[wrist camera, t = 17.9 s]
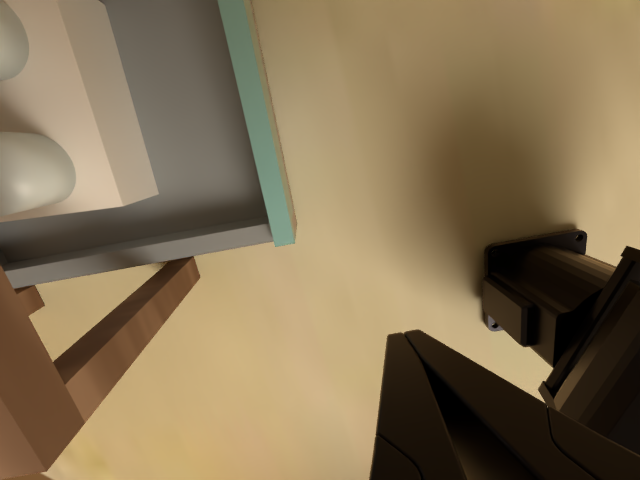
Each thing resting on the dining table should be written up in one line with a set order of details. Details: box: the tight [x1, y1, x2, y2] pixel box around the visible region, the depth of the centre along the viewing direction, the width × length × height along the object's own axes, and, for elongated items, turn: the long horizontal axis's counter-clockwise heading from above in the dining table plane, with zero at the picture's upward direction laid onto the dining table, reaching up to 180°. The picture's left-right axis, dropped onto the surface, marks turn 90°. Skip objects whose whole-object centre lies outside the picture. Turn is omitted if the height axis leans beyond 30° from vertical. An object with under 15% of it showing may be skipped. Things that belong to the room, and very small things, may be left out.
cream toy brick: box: [0, 0, 159, 222], centre depth 13 cm, size 6×9×6 cm, turn 7°
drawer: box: [0, 0, 297, 289], centre depth 15 cm, size 18×16×4 cm
